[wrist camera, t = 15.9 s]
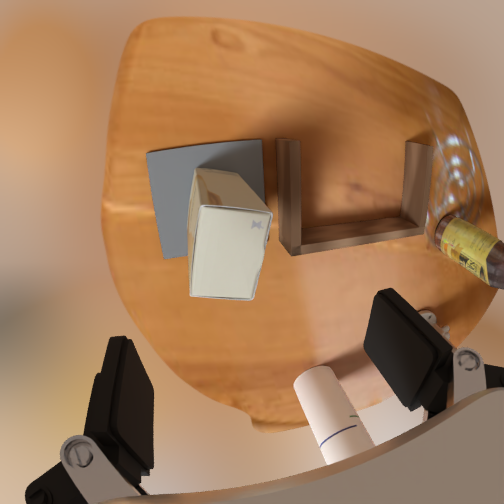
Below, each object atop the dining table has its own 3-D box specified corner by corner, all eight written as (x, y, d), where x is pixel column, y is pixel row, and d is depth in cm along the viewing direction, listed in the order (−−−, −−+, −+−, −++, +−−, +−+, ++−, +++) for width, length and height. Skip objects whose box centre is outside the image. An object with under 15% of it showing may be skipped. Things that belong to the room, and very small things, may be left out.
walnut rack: (411, 141, 29) (433, 146, 26) (404, 222, 34) (423, 234, 31) (275, 138, 26) (289, 141, 23) (279, 240, 31) (291, 256, 28)
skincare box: (194, 166, 26) (199, 197, 15) (239, 172, 27) (276, 207, 16) (185, 230, 28) (187, 299, 17) (228, 234, 29) (254, 302, 18)
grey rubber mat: (260, 139, 26) (261, 139, 26) (265, 242, 31) (266, 243, 31) (146, 153, 24) (146, 153, 24) (164, 257, 29) (164, 259, 29)
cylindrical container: (298, 369, 42) (364, 507, 20) (337, 362, 43) (409, 484, 21) (289, 395, 44) (342, 519, 22) (326, 388, 46) (384, 501, 24)
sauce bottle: (426, 242, 37) (524, 313, 19) (444, 206, 35) (548, 265, 17) (445, 255, 39) (530, 319, 22) (461, 222, 37) (551, 278, 20)
